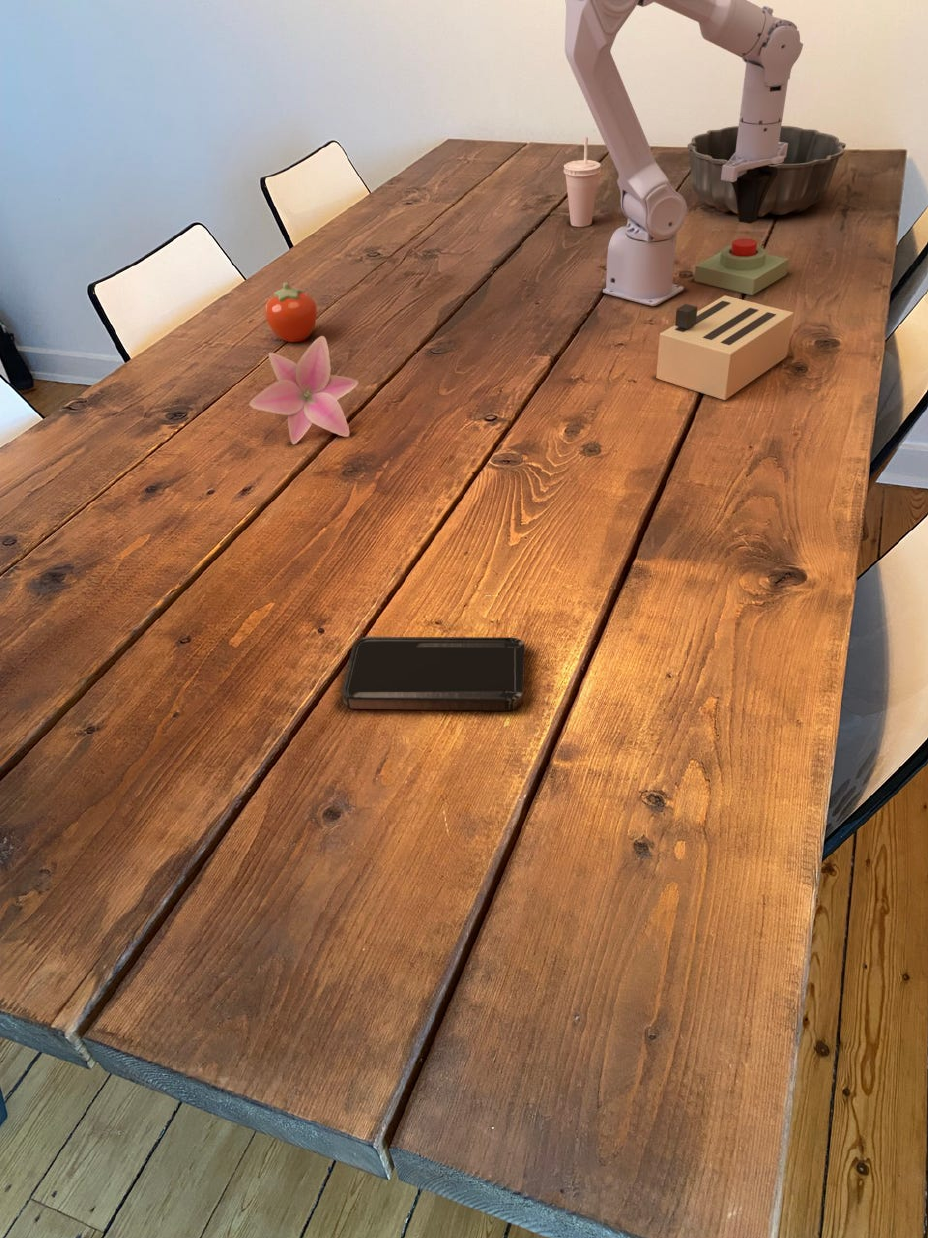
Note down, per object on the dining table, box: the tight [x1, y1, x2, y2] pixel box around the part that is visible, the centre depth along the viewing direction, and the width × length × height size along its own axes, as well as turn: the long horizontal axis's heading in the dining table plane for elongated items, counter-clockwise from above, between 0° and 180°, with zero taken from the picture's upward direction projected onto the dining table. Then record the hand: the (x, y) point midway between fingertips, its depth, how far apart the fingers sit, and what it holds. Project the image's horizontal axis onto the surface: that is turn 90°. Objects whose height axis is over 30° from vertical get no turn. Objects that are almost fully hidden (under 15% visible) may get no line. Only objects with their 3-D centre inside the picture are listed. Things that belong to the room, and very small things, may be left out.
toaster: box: [656, 294, 795, 401], centre depth 120 cm, size 10×15×6 cm, turn 137°
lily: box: [249, 335, 360, 445], centre depth 114 cm, size 12×12×10 cm
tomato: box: [264, 281, 318, 343], centre depth 135 cm, size 7×7×8 cm
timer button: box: [731, 237, 758, 257], centre depth 142 cm, size 4×4×2 cm
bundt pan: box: [687, 125, 847, 218], centre depth 168 cm, size 26×26×10 cm
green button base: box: [693, 244, 790, 296], centre depth 143 cm, size 10×10×4 cm
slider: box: [674, 303, 699, 329], centre depth 117 cm, size 2×2×2 cm
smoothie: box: [563, 136, 602, 228], centre depth 164 cm, size 6×6×14 cm
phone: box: [341, 636, 525, 711], centre depth 80 cm, size 8×1×15 cm
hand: (747, 221), depth 139 cm, fingers closed
